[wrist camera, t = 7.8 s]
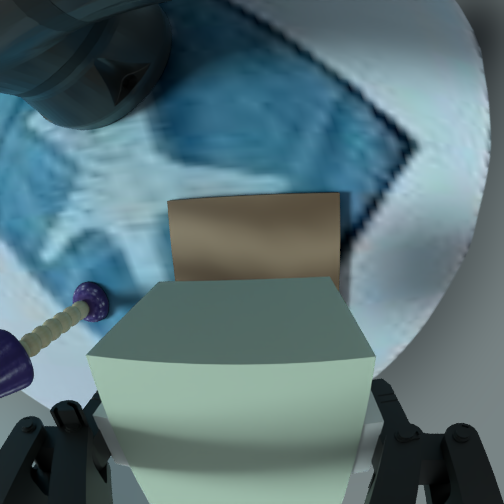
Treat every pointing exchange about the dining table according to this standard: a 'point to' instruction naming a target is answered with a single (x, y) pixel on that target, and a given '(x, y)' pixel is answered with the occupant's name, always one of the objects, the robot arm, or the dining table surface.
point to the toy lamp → (46, 337)
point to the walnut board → (256, 237)
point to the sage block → (237, 391)
